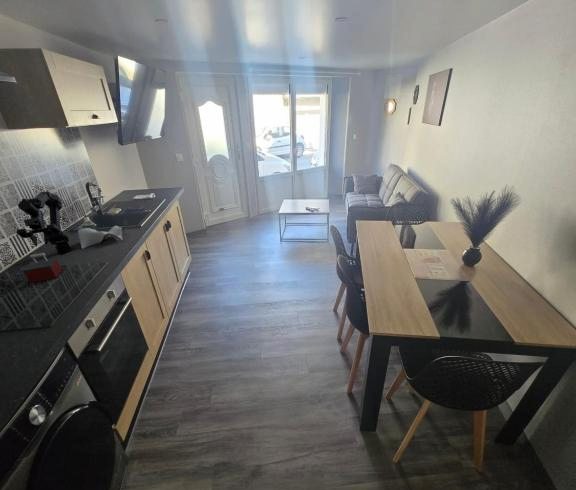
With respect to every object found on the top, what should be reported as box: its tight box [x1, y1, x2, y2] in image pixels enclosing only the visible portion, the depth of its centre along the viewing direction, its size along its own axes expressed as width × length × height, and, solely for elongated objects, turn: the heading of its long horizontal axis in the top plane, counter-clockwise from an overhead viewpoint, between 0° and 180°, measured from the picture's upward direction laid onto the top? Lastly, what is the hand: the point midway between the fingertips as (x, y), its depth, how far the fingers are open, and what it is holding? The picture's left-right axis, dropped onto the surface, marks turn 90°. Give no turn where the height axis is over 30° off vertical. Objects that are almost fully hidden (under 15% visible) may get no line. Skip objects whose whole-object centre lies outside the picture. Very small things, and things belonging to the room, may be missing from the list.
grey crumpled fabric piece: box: [77, 225, 126, 250], centre depth 197 cm, size 25×19×10 cm
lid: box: [22, 252, 58, 273], centre depth 156 cm, size 11×12×5 cm
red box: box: [23, 258, 63, 284], centre depth 159 cm, size 10×12×6 cm
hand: (41, 245), depth 162 cm, fingers open, 5 cm apart
